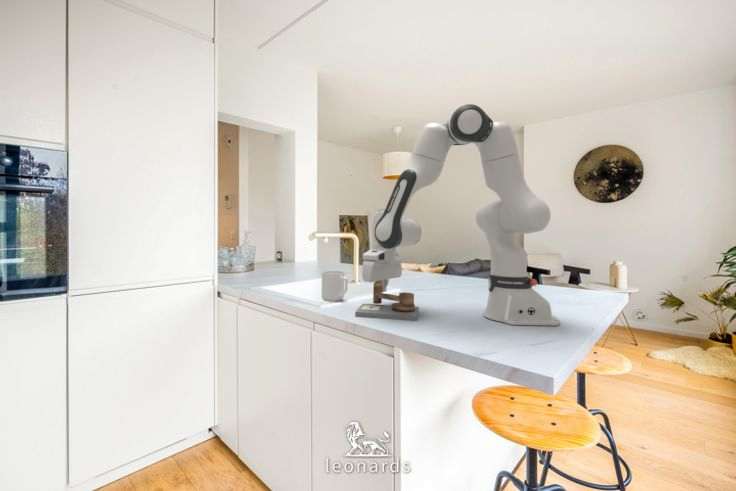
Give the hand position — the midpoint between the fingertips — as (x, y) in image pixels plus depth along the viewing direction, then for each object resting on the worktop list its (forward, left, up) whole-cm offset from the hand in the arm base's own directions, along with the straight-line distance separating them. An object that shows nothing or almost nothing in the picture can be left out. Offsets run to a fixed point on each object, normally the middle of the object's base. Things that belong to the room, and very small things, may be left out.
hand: (382, 291), depth 127 cm
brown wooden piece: (-4, +6, -4) cm, 9 cm away
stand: (-3, +9, -6) cm, 11 cm away
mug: (+20, -7, -6) cm, 22 cm away
